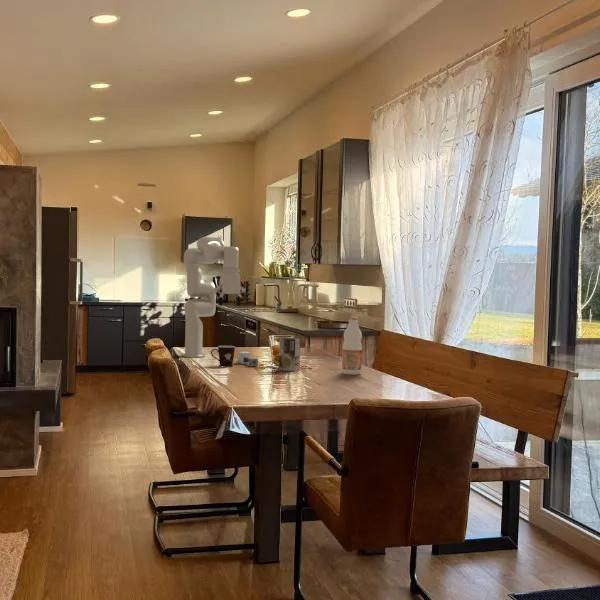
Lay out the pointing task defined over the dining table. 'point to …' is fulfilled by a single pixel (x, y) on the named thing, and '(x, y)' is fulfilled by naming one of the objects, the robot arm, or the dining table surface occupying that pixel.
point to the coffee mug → (225, 355)
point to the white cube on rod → (242, 356)
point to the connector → (252, 362)
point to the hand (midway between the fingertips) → (229, 305)
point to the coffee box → (289, 354)
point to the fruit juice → (352, 348)
